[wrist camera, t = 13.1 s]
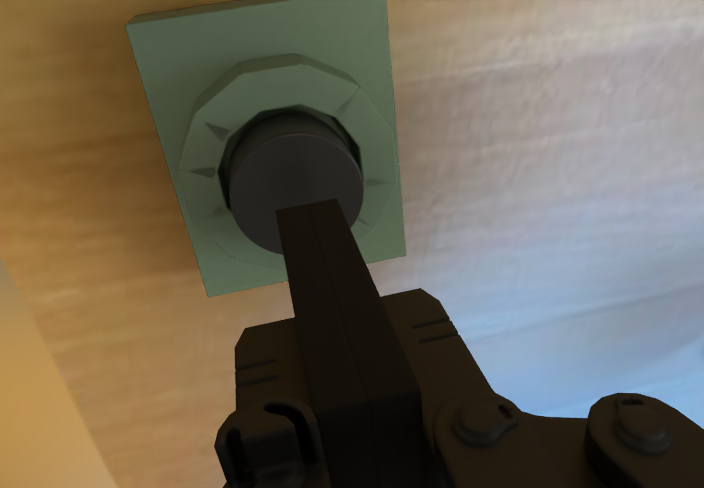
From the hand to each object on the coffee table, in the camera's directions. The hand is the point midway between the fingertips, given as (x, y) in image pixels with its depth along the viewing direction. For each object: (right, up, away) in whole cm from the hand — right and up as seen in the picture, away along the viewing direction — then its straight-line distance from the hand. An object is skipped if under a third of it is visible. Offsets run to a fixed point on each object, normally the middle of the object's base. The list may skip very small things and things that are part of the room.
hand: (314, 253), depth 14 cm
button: (-1, +3, +4) cm, 5 cm away
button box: (-2, +4, +7) cm, 9 cm away
